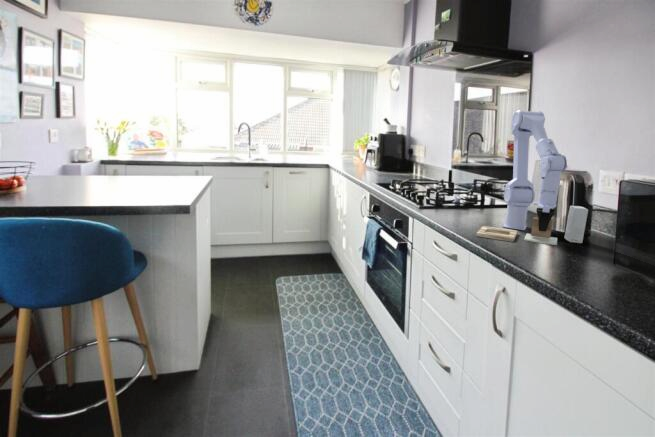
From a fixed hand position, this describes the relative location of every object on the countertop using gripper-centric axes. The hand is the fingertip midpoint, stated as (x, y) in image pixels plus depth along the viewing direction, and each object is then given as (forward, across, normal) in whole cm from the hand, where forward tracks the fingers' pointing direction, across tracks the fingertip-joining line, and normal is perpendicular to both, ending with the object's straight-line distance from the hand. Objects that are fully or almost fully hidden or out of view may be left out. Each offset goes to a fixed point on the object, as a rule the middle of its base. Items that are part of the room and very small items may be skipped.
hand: (542, 229), depth 153 cm
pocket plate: (+4, +2, -14) cm, 15 cm away
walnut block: (+2, 0, 0) cm, 2 cm away
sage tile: (+4, 0, 0) cm, 4 cm away
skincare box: (+4, -7, +10) cm, 13 cm away
